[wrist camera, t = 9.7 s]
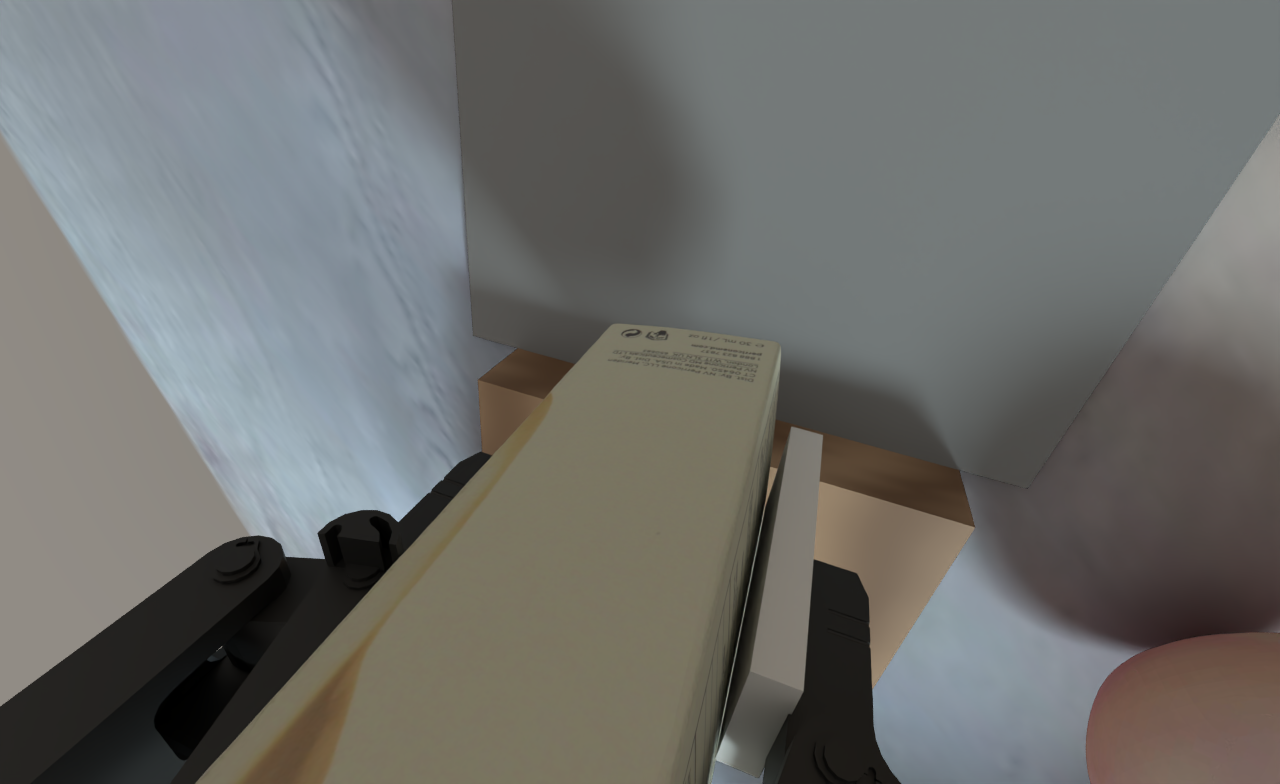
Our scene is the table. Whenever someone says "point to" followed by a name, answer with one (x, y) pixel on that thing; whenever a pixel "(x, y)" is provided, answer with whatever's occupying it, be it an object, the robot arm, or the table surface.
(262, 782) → the skincare box
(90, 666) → the robot arm
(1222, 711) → the decorative fruit
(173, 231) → the table surface
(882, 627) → the walnut ledge
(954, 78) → the rubber mat
